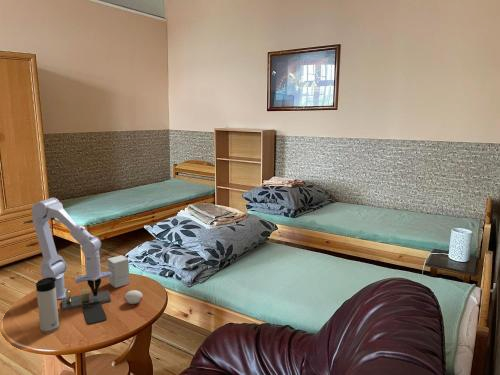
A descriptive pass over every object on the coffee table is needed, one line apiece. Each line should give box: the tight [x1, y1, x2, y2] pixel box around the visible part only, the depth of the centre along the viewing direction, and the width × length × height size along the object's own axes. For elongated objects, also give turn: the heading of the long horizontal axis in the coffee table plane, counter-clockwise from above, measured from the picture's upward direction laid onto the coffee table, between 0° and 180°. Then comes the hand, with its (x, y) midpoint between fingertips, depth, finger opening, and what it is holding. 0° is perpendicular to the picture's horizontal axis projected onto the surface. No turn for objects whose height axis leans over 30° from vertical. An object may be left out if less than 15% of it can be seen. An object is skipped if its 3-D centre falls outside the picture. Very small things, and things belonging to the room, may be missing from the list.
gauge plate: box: [61, 289, 112, 311], centre depth 164 cm, size 9×19×6 cm, turn 115°
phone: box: [82, 303, 108, 326], centre depth 155 cm, size 7×1×15 cm
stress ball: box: [123, 290, 143, 307], centre depth 164 cm, size 8×8×7 cm
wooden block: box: [80, 288, 90, 302], centre depth 164 cm, size 5×3×3 cm, turn 25°
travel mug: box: [35, 277, 60, 334], centre depth 142 cm, size 6×7×20 cm
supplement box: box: [107, 254, 131, 289], centre depth 181 cm, size 7×7×13 cm
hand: (95, 295), depth 166 cm, fingers closed
